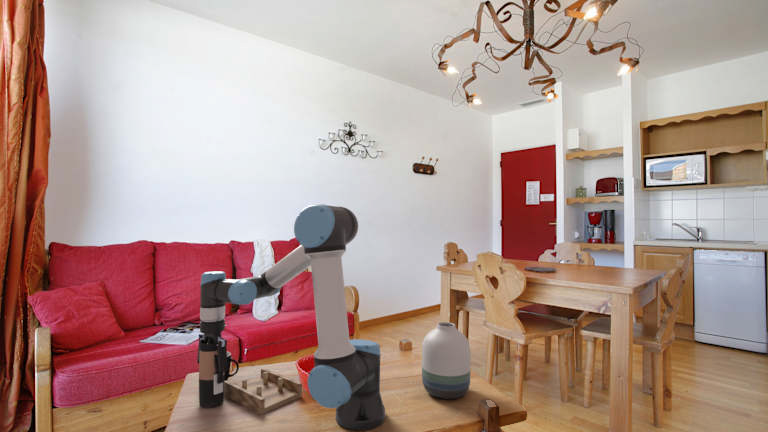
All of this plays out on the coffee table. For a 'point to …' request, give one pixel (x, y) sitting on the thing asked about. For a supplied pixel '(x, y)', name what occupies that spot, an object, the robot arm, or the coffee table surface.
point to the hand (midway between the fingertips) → (211, 389)
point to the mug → (229, 367)
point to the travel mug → (208, 376)
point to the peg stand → (264, 391)
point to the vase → (446, 362)
